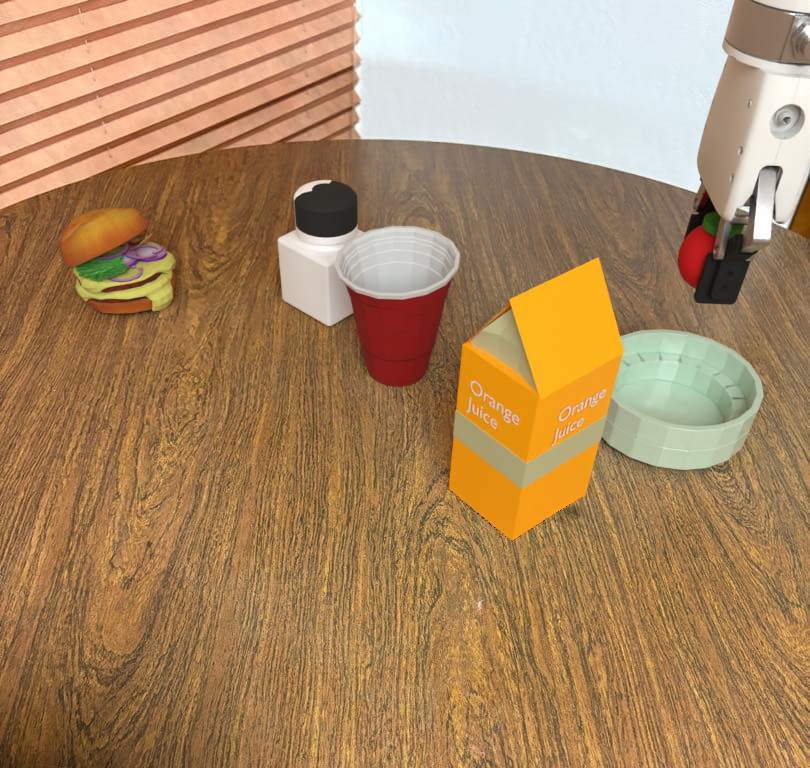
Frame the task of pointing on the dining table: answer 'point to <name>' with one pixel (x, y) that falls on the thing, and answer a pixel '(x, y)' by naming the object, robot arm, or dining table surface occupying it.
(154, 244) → the cheeseburger
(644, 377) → the bowl
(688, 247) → the red tomato
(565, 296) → the orange juice
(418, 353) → the plastic cup
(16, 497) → the dining table surface
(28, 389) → the dining table surface
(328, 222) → the medicine bottle
